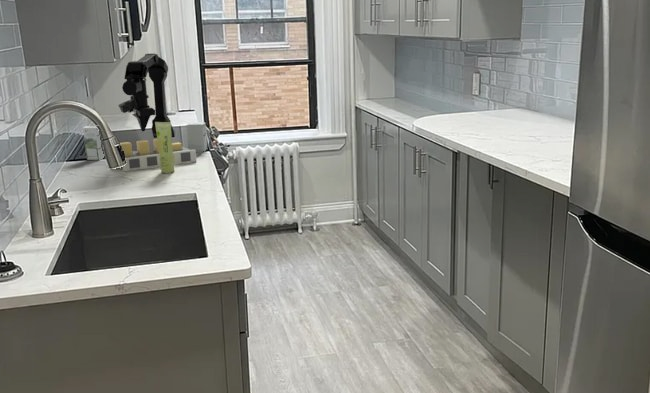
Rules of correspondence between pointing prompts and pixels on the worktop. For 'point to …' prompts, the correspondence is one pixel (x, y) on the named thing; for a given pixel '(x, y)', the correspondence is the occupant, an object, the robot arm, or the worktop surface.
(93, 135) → the syrup box
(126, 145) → the button
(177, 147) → the button
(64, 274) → the worktop surface
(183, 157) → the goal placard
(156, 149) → the button
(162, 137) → the tube
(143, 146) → the button
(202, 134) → the supplement box
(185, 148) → the button board
